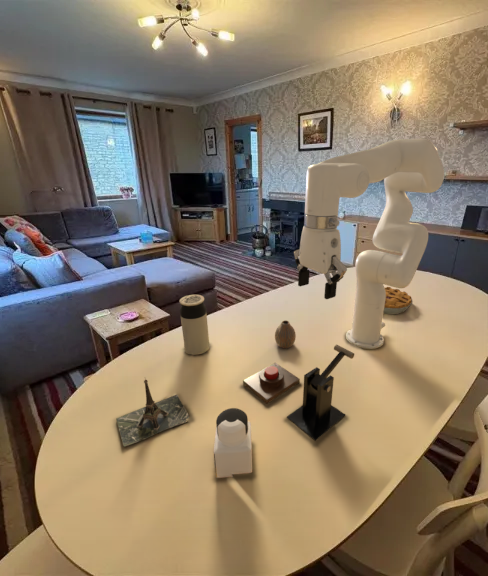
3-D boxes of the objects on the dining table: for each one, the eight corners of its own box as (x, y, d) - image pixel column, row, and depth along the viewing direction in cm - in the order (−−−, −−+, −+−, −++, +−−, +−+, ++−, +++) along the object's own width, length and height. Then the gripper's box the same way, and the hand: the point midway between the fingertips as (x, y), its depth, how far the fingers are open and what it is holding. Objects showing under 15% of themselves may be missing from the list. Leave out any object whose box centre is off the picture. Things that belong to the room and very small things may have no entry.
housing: (275, 368, 92) (275, 357, 91) (299, 385, 85) (300, 373, 84) (243, 386, 85) (242, 374, 83) (267, 406, 78) (266, 394, 76)
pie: (415, 300, 136) (417, 290, 134) (405, 321, 119) (408, 309, 117) (366, 290, 147) (367, 280, 145) (351, 307, 130) (352, 296, 128)
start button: (271, 369, 86) (271, 364, 85) (280, 375, 83) (280, 370, 83) (262, 375, 84) (261, 369, 83) (270, 381, 81) (270, 376, 81)
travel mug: (214, 345, 104) (210, 296, 97) (199, 358, 97) (194, 306, 90) (195, 339, 107) (189, 292, 100) (179, 352, 100) (172, 301, 93)
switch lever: (338, 348, 76) (336, 342, 75) (355, 356, 73) (353, 350, 72) (307, 384, 72) (305, 378, 70) (324, 395, 68) (322, 390, 67)
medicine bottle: (218, 447, 67) (214, 404, 62) (251, 445, 67) (250, 402, 63) (216, 478, 60) (211, 433, 56) (252, 476, 61) (250, 430, 56)
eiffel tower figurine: (178, 395, 82) (171, 352, 76) (191, 420, 74) (185, 374, 69) (116, 419, 74) (104, 374, 69) (124, 450, 66) (111, 402, 61)
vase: (293, 352, 100) (294, 328, 97) (273, 349, 101) (273, 326, 98) (296, 340, 106) (297, 318, 103) (276, 338, 107) (277, 316, 104)
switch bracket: (316, 398, 80) (319, 357, 76) (345, 418, 74) (350, 375, 69) (286, 420, 74) (287, 377, 69) (315, 444, 67) (318, 398, 63)
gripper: (361, 226, 66) (352, 299, 72) (308, 215, 79) (305, 278, 85) (336, 230, 62) (329, 307, 68) (284, 218, 75) (283, 283, 81)
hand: (316, 291), depth 77 cm, fingers open, 9 cm apart
